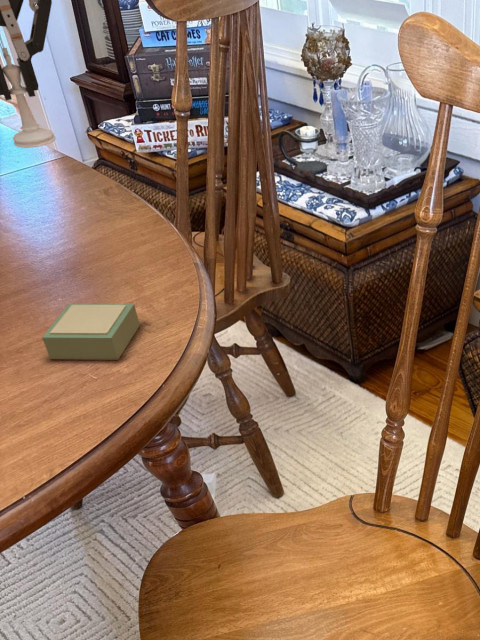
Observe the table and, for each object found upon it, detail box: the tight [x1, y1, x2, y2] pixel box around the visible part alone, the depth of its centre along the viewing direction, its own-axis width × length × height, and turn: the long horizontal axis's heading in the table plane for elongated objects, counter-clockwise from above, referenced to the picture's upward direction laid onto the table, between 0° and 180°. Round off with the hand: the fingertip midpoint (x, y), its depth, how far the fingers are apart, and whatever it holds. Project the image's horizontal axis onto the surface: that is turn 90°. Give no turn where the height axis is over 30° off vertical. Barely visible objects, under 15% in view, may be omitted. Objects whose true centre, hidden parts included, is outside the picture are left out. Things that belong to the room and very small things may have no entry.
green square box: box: [41, 303, 141, 361], centre depth 90 cm, size 8×8×3 cm
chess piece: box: [1, 47, 57, 149], centre depth 93 cm, size 5×5×10 cm
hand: (19, 96), depth 93 cm, fingers closed on chess piece
